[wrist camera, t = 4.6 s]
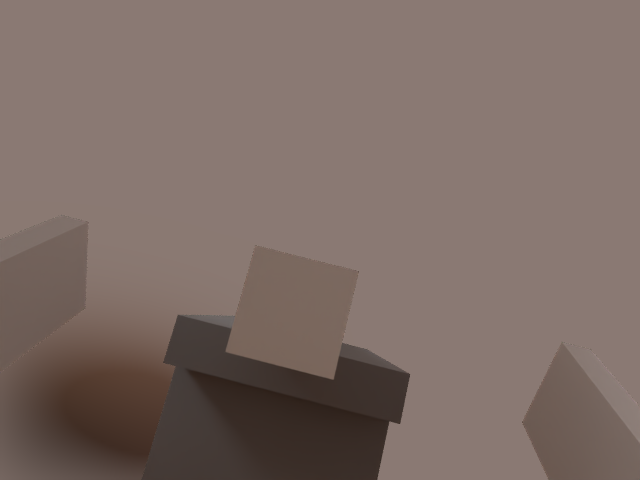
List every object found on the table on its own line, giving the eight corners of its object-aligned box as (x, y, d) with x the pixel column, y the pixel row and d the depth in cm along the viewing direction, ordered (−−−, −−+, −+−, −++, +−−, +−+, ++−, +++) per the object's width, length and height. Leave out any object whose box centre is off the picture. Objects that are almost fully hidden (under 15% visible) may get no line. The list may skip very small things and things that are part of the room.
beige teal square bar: (333, 379, 10) (358, 271, 10) (225, 351, 10) (255, 245, 10) (318, 337, 31) (326, 301, 31) (283, 328, 31) (292, 293, 31)
